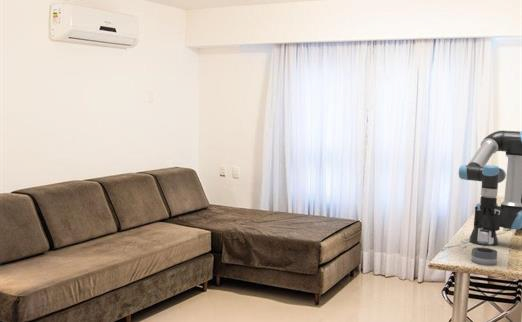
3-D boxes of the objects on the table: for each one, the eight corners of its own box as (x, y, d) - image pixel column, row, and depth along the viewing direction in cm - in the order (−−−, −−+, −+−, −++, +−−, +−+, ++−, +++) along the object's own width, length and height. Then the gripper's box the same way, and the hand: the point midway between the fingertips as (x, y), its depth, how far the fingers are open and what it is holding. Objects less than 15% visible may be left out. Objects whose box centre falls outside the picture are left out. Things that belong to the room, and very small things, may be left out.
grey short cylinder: (481, 257, 301) (482, 246, 300) (501, 263, 291) (502, 251, 290) (466, 260, 294) (466, 248, 294) (486, 266, 284) (487, 254, 284)
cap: (483, 241, 295) (484, 228, 295) (494, 243, 290) (495, 231, 290) (476, 242, 292) (477, 229, 292) (486, 244, 287) (487, 232, 286)
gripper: (468, 194, 295) (464, 238, 297) (500, 200, 279) (496, 247, 281) (477, 193, 299) (474, 237, 301) (510, 199, 283) (506, 245, 285)
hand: (485, 242), depth 291 cm, fingers closed on cap, 6 cm apart
